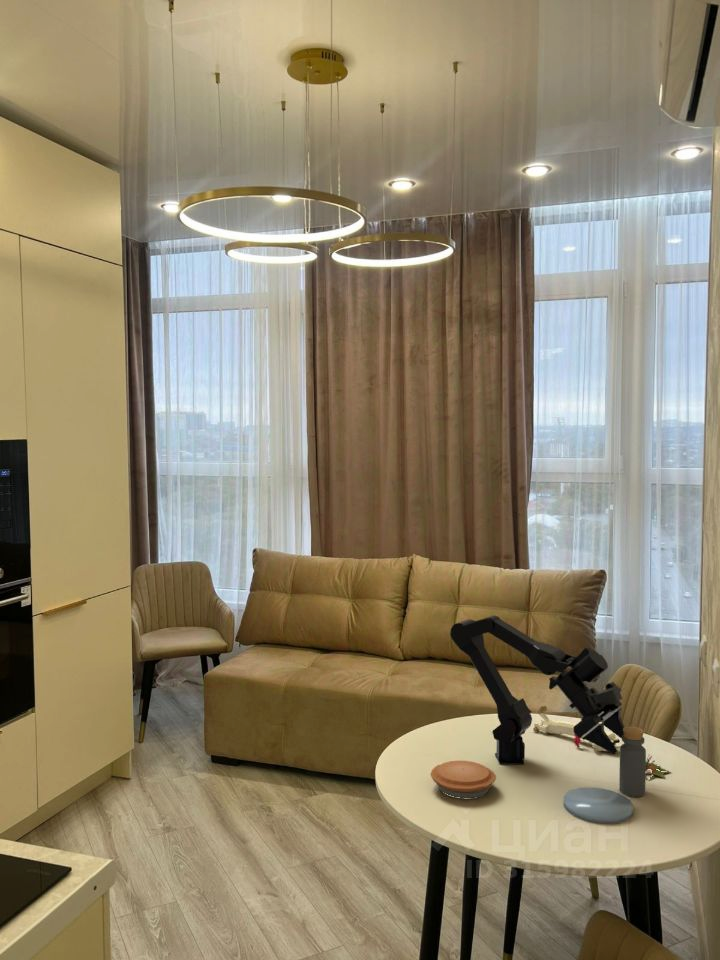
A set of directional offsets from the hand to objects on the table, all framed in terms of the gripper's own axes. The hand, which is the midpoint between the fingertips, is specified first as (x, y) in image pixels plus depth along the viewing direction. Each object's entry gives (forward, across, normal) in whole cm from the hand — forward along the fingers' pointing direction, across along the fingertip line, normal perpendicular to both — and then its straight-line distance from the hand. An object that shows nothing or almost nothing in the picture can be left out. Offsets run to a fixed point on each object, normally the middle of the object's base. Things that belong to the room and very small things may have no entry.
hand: (622, 746), depth 190 cm
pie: (-14, -23, +29) cm, 40 cm away
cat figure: (-7, +23, +22) cm, 32 cm away
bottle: (+9, 0, +6) cm, 11 cm away
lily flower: (+9, +14, +7) cm, 18 cm away
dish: (+6, -13, +8) cm, 17 cm away
